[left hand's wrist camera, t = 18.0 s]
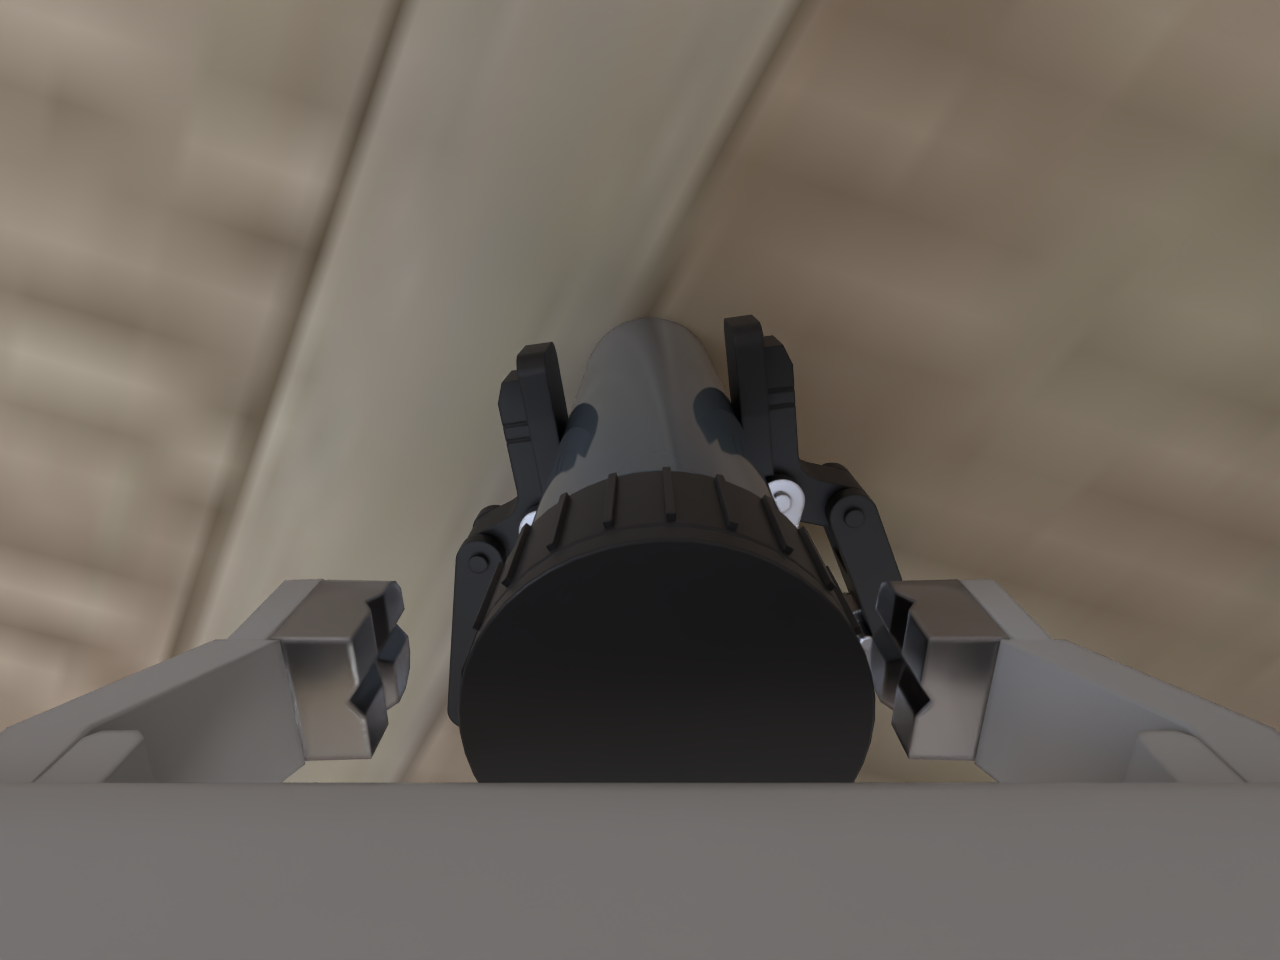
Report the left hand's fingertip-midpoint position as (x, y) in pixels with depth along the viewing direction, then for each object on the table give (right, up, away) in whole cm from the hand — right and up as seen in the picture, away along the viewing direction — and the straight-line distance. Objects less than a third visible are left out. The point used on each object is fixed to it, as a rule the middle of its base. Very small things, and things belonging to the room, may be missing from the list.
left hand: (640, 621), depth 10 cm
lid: (0, -1, -2) cm, 2 cm away
